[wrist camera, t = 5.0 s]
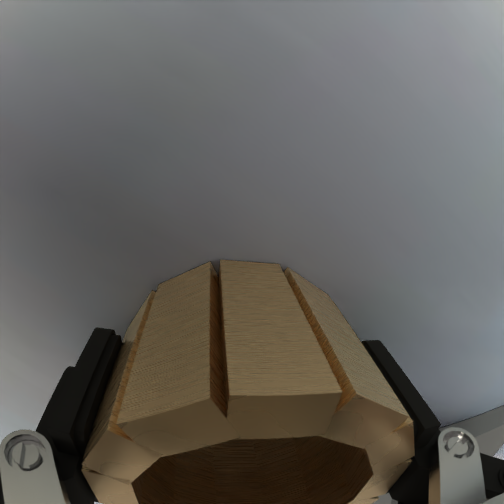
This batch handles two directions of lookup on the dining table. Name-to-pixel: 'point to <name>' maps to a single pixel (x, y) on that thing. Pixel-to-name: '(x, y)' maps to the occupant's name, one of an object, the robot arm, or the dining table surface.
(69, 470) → the robot arm
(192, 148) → the dining table surface
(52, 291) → the dining table surface
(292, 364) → the wooden stave ring
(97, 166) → the dining table surface
